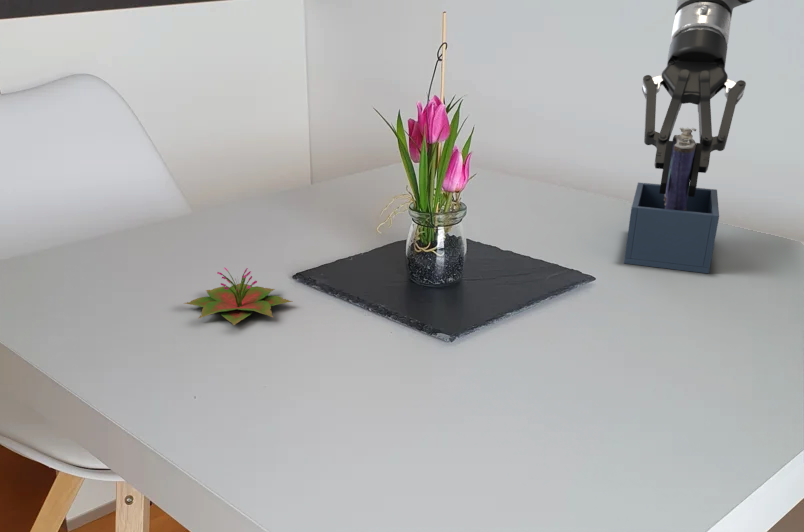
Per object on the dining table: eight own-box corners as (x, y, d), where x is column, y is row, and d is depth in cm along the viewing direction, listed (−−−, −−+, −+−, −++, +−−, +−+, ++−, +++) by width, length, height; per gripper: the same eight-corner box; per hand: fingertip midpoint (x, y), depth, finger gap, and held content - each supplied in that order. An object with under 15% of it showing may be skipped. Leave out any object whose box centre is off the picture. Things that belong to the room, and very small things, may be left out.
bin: (707, 242, 120) (717, 189, 117) (708, 273, 108) (719, 215, 105) (630, 233, 124) (637, 182, 121) (623, 263, 112) (631, 207, 109)
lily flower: (311, 306, 98) (311, 270, 96) (232, 338, 89) (230, 299, 88) (244, 281, 105) (242, 246, 103) (165, 308, 97) (161, 271, 95)
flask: (663, 196, 118) (675, 120, 114) (685, 198, 117) (698, 121, 113) (663, 214, 110) (676, 133, 106) (687, 217, 109) (701, 135, 105)
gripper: (640, 24, 116) (614, 168, 108) (766, 28, 111) (749, 180, 103) (637, 59, 123) (613, 198, 115) (756, 65, 117) (739, 210, 110)
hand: (677, 189), depth 109 cm, fingers closed on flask, 3 cm apart
